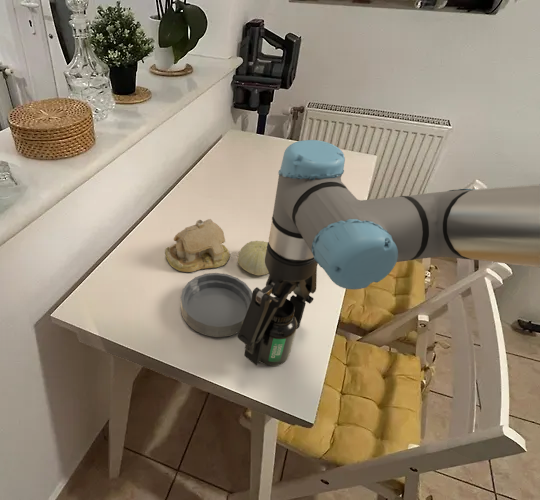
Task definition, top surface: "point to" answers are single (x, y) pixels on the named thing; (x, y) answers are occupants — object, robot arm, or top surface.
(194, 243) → the ceramic model
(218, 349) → the top surface
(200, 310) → the dish
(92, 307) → the top surface
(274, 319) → the supplement bottle
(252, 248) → the sea urchin shell
